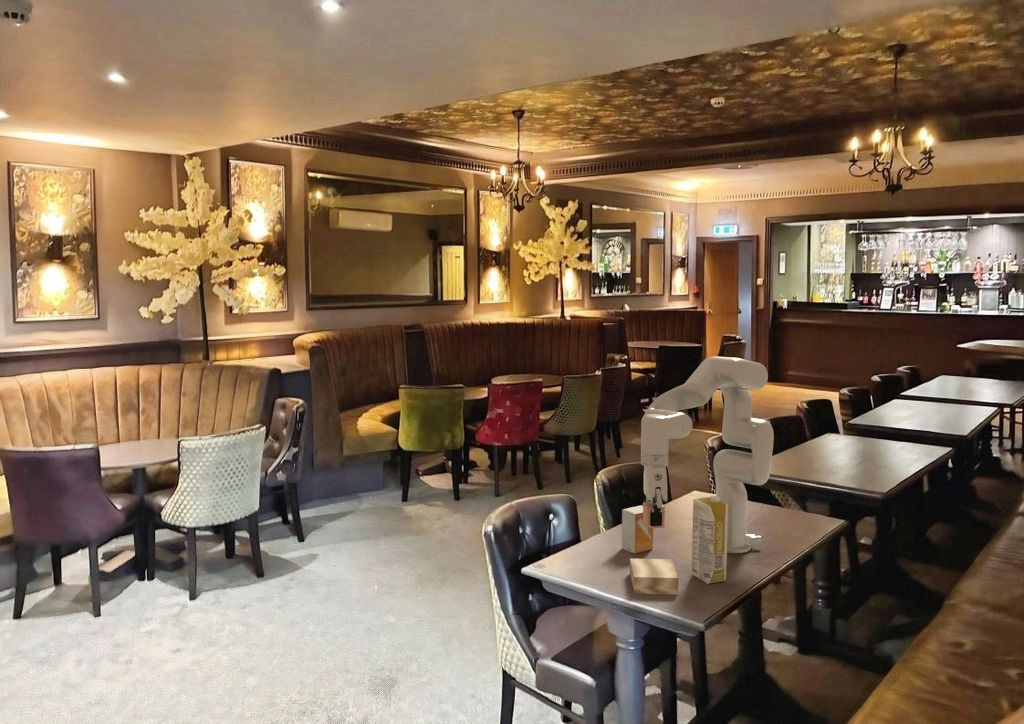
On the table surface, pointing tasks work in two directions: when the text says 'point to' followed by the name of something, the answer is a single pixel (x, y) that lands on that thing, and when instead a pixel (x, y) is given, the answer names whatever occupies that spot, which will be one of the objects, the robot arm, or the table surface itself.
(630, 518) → the small box
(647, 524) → the terracotta block
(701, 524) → the juice carton
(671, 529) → the table surface
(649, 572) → the birch block
